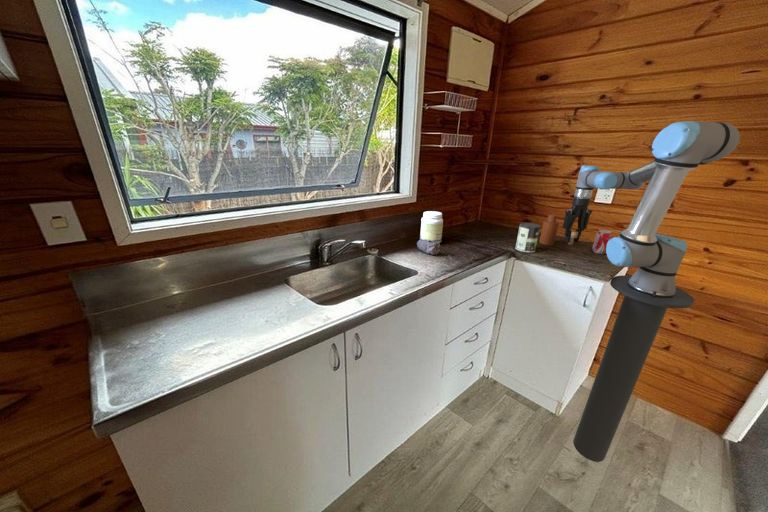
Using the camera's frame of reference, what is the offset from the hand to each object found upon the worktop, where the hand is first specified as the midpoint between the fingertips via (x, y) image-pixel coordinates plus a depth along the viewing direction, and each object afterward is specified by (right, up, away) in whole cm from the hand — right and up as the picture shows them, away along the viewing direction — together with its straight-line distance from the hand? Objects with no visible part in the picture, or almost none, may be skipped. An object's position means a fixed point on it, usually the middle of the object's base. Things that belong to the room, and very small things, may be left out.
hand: (570, 241), depth 160 cm
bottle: (-3, 0, +19) cm, 19 cm away
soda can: (+19, -6, +5) cm, 20 cm away
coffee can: (-21, -4, +7) cm, 23 cm away
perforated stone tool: (-76, -6, -2) cm, 77 cm away
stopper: (0, -1, 0) cm, 1 cm away
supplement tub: (-72, +1, +15) cm, 74 cm away
